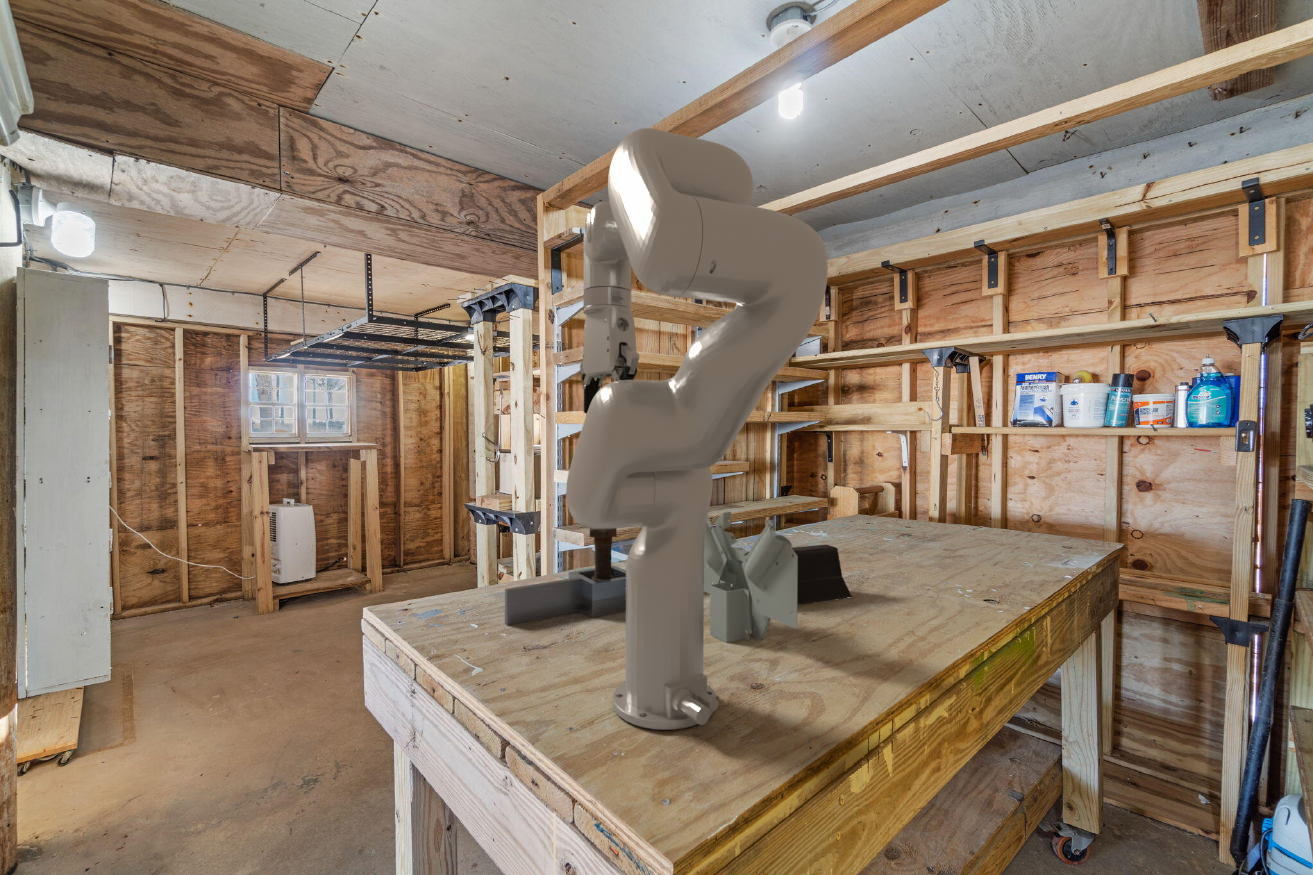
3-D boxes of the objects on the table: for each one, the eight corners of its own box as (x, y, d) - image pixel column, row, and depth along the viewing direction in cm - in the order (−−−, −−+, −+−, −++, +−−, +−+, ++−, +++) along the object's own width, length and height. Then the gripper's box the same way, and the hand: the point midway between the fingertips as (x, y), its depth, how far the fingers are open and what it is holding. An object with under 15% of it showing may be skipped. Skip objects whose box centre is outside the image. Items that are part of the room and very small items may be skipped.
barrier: (751, 613, 104) (752, 559, 103) (728, 599, 112) (728, 549, 111) (853, 599, 112) (853, 549, 112) (824, 587, 121) (825, 541, 120)
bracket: (814, 658, 82) (815, 523, 82) (780, 669, 79) (780, 527, 78) (701, 607, 106) (701, 502, 105) (670, 614, 102) (670, 504, 102)
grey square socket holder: (698, 595, 113) (698, 566, 113) (516, 633, 92) (516, 597, 92) (670, 584, 122) (670, 556, 121) (496, 616, 101) (496, 583, 100)
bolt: (582, 607, 106) (583, 528, 105) (596, 600, 110) (596, 524, 110) (609, 611, 103) (610, 530, 103) (622, 603, 108) (622, 526, 108)
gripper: (657, 296, 83) (657, 411, 83) (602, 316, 98) (602, 414, 98) (613, 289, 79) (613, 410, 79) (562, 311, 93) (562, 413, 94)
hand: (607, 412), depth 89 cm, fingers open, 9 cm apart
